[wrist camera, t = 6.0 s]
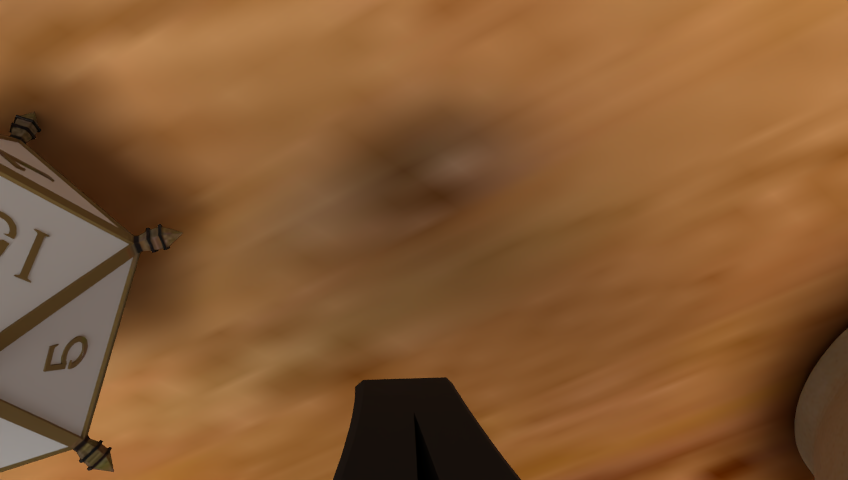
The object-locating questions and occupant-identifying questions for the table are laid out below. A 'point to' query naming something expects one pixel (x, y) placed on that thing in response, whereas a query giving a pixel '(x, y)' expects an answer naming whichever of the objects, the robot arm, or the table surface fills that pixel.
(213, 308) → the table surface
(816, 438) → the planter bowl
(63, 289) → the game die
